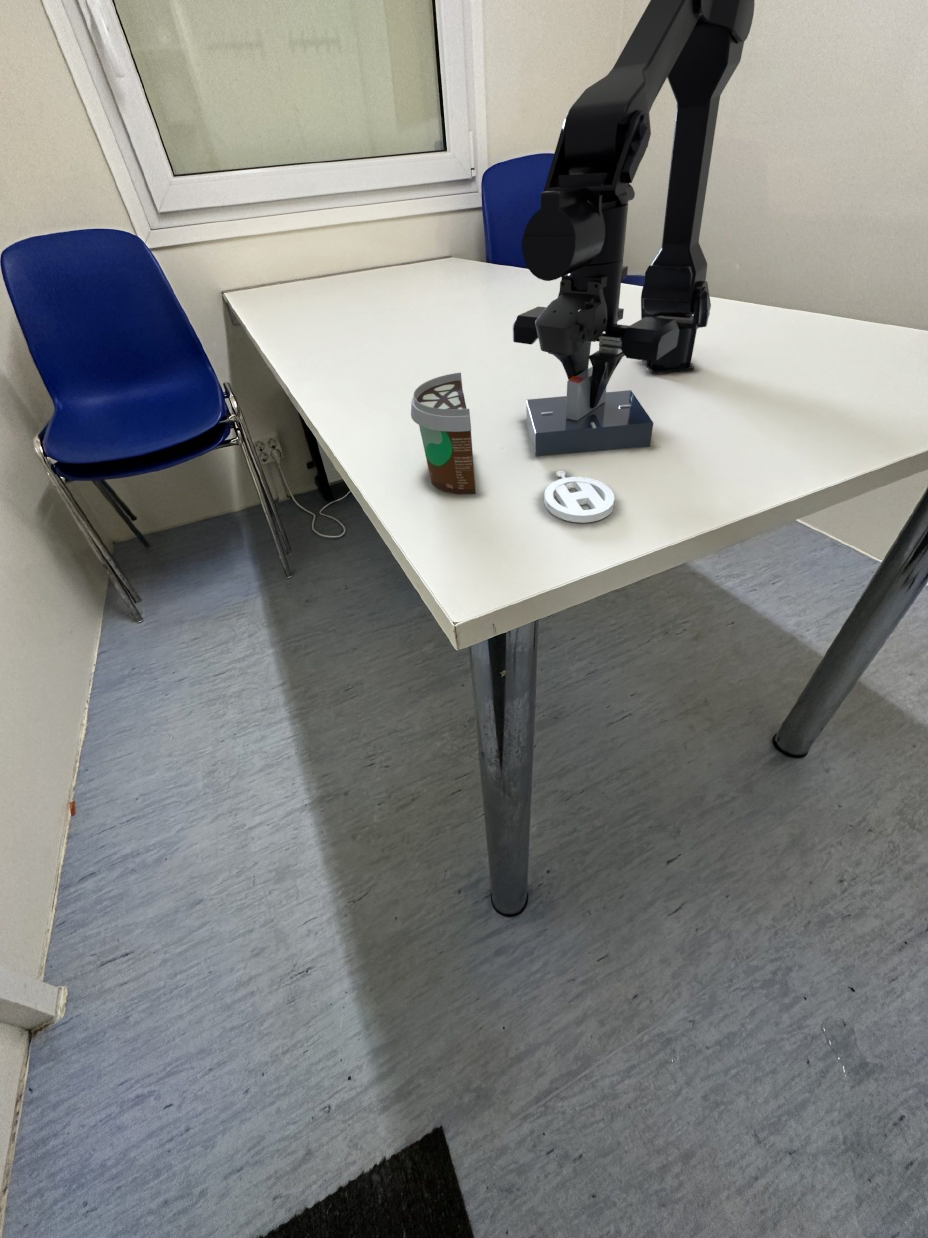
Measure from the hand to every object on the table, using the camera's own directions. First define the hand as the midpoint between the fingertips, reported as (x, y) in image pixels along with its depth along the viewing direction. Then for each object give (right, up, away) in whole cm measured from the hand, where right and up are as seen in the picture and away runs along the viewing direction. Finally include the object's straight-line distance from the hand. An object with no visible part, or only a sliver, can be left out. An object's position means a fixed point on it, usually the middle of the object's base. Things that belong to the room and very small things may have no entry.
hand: (586, 405), depth 68 cm
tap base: (0, -3, +2) cm, 4 cm away
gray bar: (0, 0, 0) cm, 0 cm away
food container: (-17, -10, -3) cm, 21 cm away
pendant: (-3, -14, -9) cm, 17 cm away
